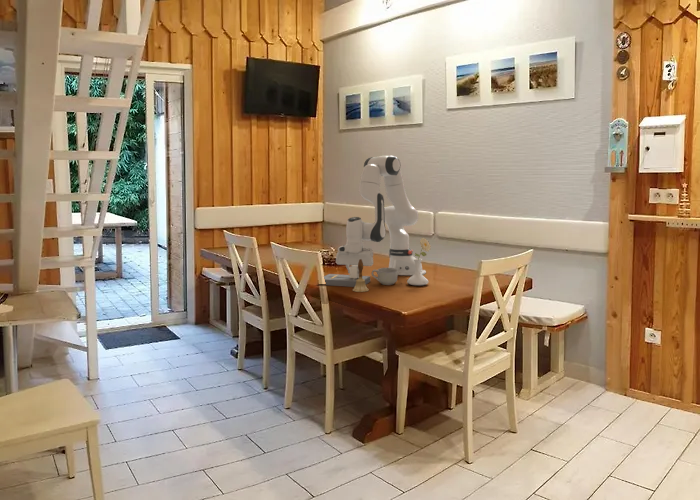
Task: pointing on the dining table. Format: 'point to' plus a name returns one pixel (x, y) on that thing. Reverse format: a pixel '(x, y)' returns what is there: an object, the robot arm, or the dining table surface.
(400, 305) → the dining table surface
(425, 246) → the flower in vase
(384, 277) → the teacup
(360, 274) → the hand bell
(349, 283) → the console
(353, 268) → the fader
